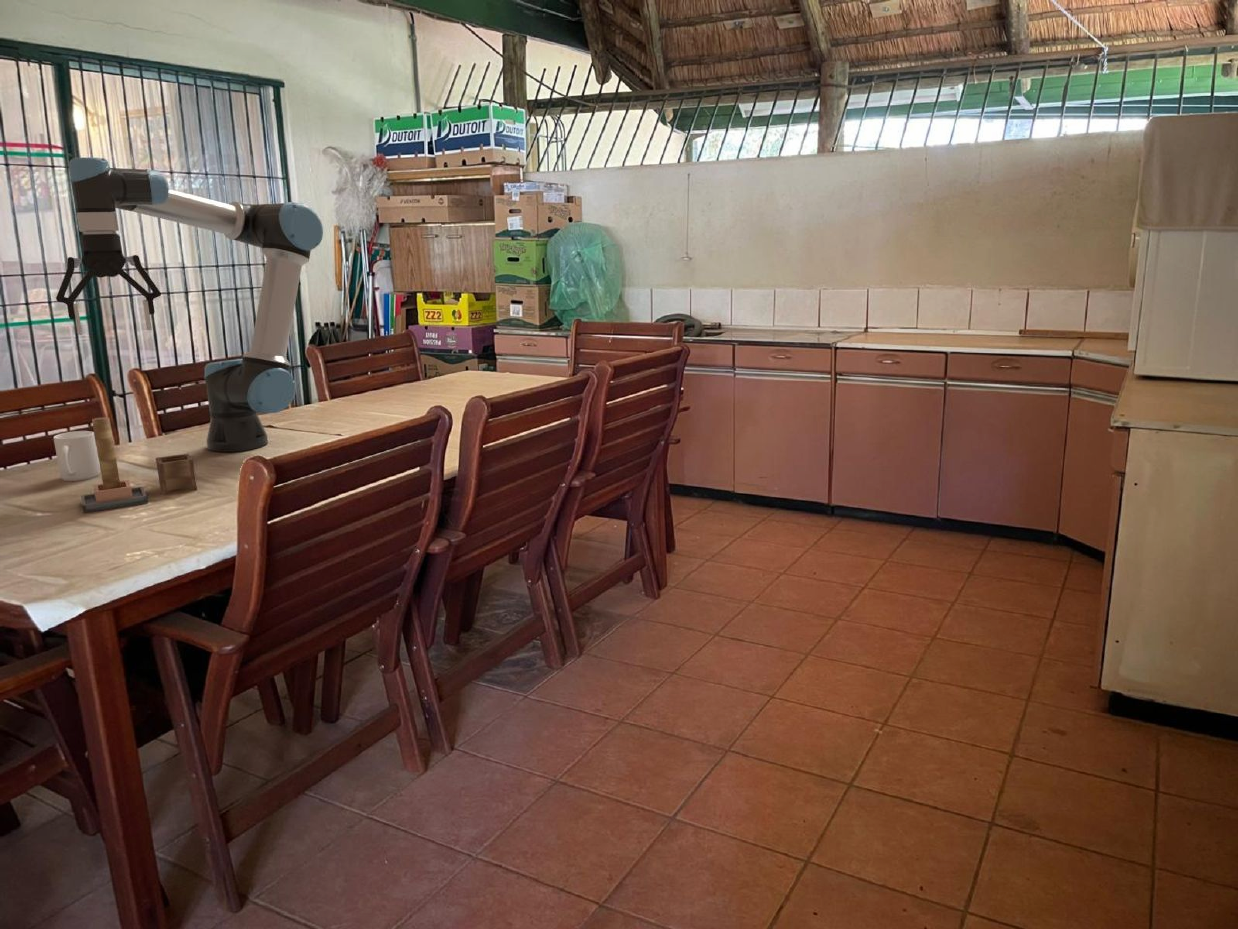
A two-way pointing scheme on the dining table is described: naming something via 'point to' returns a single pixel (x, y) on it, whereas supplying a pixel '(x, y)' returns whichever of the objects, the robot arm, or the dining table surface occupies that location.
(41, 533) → the dining table surface
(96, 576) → the dining table surface
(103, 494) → the holder
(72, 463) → the mug
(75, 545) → the dining table surface
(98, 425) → the dowel
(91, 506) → the tray
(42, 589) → the dining table surface
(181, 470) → the pen cup
